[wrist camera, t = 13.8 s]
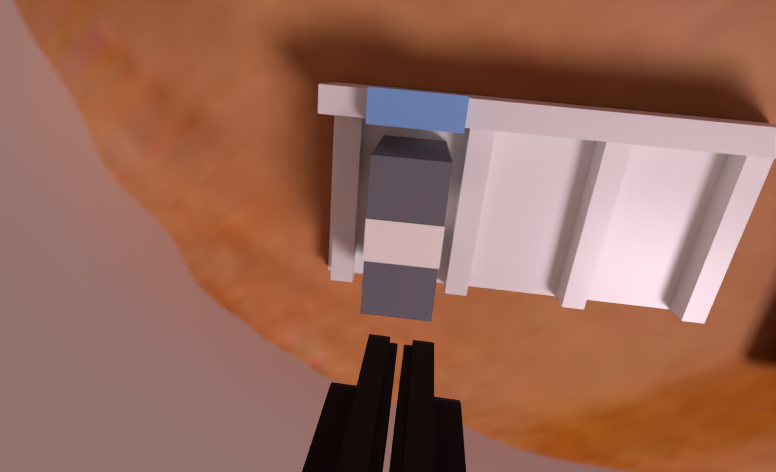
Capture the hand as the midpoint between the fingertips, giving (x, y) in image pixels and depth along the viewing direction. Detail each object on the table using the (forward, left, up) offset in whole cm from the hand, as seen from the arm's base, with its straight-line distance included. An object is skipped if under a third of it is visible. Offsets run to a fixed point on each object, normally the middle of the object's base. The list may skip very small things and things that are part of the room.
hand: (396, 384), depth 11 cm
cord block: (+1, 0, -19) cm, 19 cm away
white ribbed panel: (-1, +8, -19) cm, 21 cm away
